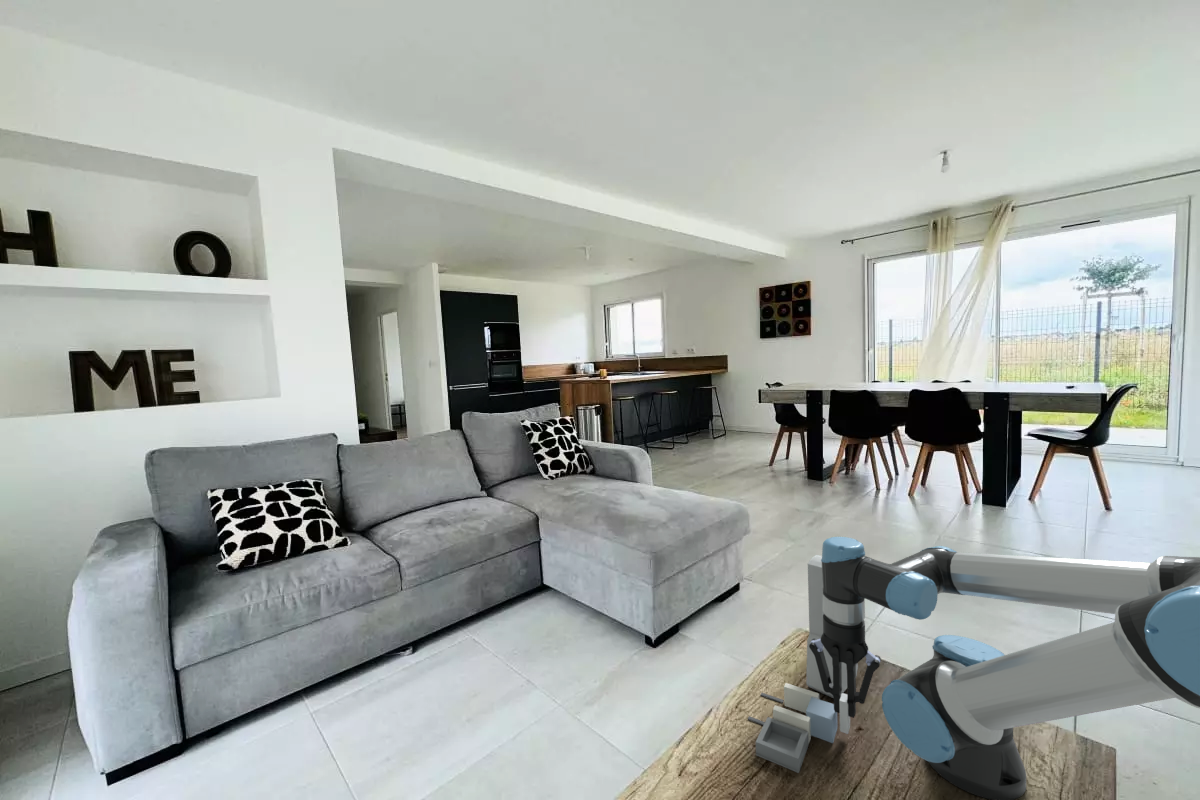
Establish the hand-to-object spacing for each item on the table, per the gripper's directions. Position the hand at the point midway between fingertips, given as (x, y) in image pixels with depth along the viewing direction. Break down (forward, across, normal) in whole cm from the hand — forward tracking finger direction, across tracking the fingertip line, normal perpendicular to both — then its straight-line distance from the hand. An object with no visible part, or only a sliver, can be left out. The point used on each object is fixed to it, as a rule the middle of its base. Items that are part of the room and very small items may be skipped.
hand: (845, 728), depth 98 cm
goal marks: (+2, +16, 0) cm, 16 cm away
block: (+2, +4, 0) cm, 5 cm away
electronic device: (+3, +5, -17) cm, 18 cm away
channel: (+2, +9, 0) cm, 10 cm away
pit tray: (+2, +10, +10) cm, 14 cm away
